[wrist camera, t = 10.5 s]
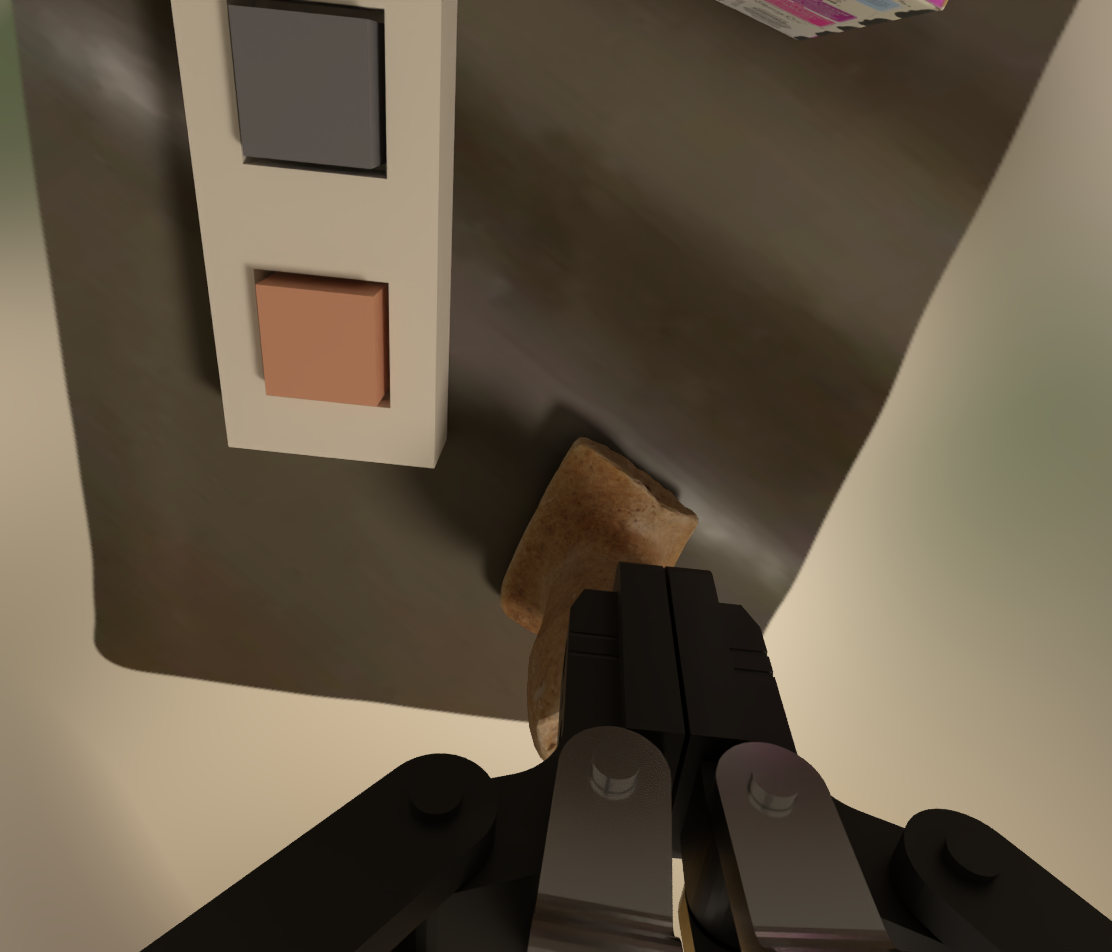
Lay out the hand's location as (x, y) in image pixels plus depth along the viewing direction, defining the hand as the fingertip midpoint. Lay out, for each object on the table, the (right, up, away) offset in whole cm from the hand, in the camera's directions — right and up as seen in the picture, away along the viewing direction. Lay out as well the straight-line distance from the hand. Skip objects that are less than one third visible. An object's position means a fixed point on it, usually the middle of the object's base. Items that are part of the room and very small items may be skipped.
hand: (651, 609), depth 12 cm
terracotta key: (-14, +10, +29) cm, 34 cm away
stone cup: (+2, -3, +38) cm, 38 cm away
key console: (-13, +17, +28) cm, 35 cm away
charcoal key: (-13, +21, +24) cm, 34 cm away
